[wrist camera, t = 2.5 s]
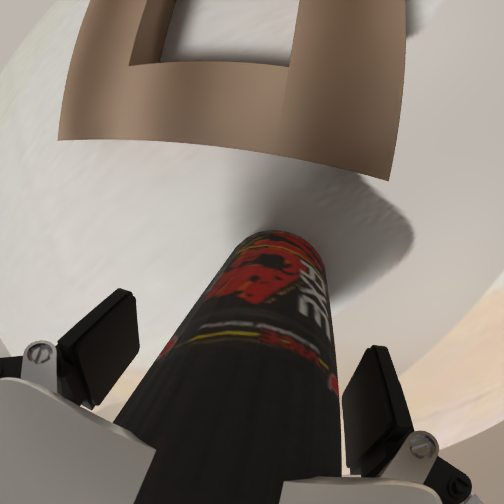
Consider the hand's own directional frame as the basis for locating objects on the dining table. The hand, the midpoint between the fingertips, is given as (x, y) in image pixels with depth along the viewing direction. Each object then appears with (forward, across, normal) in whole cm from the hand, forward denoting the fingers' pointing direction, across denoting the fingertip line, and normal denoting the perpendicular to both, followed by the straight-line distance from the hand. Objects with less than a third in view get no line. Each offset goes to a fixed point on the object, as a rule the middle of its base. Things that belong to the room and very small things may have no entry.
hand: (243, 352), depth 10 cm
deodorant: (+7, -1, 0) cm, 7 cm away
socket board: (+7, +4, -15) cm, 17 cm away
